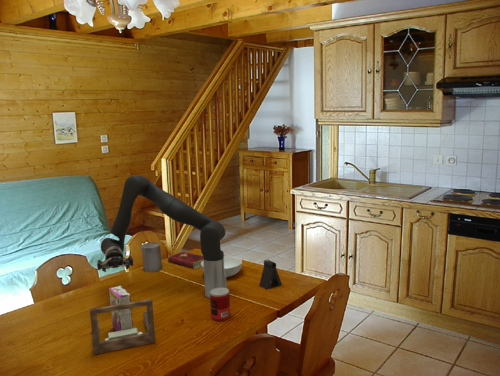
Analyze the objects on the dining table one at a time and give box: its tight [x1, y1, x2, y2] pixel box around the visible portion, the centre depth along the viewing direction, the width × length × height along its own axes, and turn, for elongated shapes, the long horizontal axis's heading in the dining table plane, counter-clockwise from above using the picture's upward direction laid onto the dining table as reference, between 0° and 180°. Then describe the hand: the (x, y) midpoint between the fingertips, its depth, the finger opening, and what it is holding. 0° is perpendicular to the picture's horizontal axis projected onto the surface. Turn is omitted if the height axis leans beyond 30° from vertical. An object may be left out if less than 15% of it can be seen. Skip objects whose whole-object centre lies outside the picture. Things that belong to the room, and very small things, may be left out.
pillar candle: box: [141, 241, 163, 273], centre depth 239 cm, size 10×10×15 cm
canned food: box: [209, 287, 231, 322], centre depth 179 cm, size 8×8×11 cm
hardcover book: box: [167, 250, 203, 270], centre depth 248 cm, size 12×21×4 cm, turn 50°
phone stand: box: [258, 259, 283, 290], centre depth 210 cm, size 9×6×12 cm, turn 123°
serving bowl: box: [200, 255, 243, 278], centre depth 228 cm, size 21×21×7 cm
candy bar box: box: [108, 285, 134, 332], centre depth 169 cm, size 11×5×16 cm, turn 34°
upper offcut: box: [108, 327, 138, 340], centre depth 162 cm, size 10×4×2 cm, turn 110°
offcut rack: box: [89, 298, 156, 355], centre depth 166 cm, size 21×20×16 cm
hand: (116, 268), depth 179 cm, fingers open, 8 cm apart
